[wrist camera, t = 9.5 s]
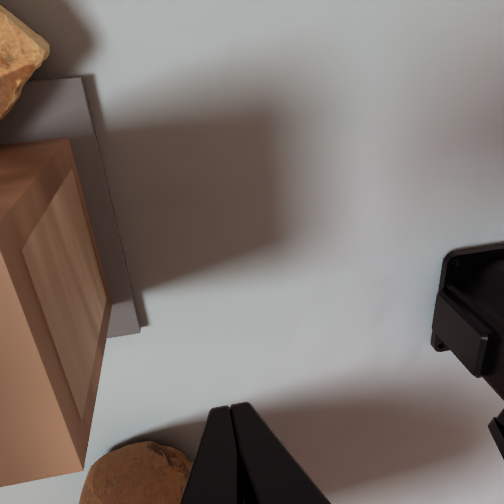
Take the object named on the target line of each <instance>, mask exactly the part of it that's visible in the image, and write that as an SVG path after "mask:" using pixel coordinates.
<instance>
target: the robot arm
mask: <svg viewBox="0 0 504 504" xmlns="http://www.w3.org/2000/svg"><path fill="white" fill-rule="evenodd" d="M454 260H455V262H454V263H453V264H452V262H453V261H454ZM439 343H440V344H439ZM431 346H432V347H433V348H434V349H435V350H436V351H438V352H442V351H448V350H451V351H452V352H453V353H454V355H455V356H456V357H457V358H458V359H459V360H460V361H461V363H462V364H463V365H464V366H465V367H466V368H467V369H468V370H469V372H470V373H471V374H472V375H474V376H475V377H476V378H480V377H483V378H484V379H485V381H486V382H487V383H488V384H489V385H490V386H491V387H492V388H493V389H494V390H495V392H496V393H497V394H498V395H499V396H500V397H501V398H502V399H503V400H504V244H502V245H495V246H489V247H482V248H476V249H469V250H463V251H457V252H451V253H449V254H447V255H446V256H445V258H444V259H443V263H442V270H441V276H440V283H439V290H438V293H437V296H436V303H435V310H434V317H433V323H432V336H431ZM488 428H489V430H490V432H491V434H492V436H493V439H494V441H495V443H496V445H497V447H498V449H499V451H500V453H501V455H502V457H503V459H504V409H503V410H502V411H501V413H500V414H499V415H498V416H497V417H494V418H493V419H492V421H491V422H490V423H489V425H488ZM243 497H244V498H243ZM244 503H245V504H331V503H330V502H329V501H328V499H327V498H326V497H325V496H324V494H323V493H322V492H321V491H320V489H319V488H318V487H317V486H316V485H315V483H314V482H313V481H312V480H311V478H310V477H309V476H308V475H307V473H306V472H305V471H304V470H303V468H302V467H301V466H300V465H299V463H298V462H297V461H296V460H295V458H294V457H293V456H292V455H291V454H290V452H289V451H288V450H287V449H286V447H285V446H284V445H283V444H282V442H281V441H280V440H279V439H278V437H277V436H276V435H275V434H274V432H273V431H272V430H271V429H270V427H269V426H268V425H267V424H266V423H265V421H264V420H263V419H262V418H261V416H260V415H259V414H258V413H257V411H256V410H255V409H254V408H253V406H252V405H251V404H250V403H249V402H242V403H237V404H232V405H231V407H229V406H221V407H216V408H212V409H211V410H210V412H209V414H208V417H207V420H206V424H205V427H204V430H203V433H202V436H201V439H200V442H199V445H198V448H197V451H196V454H195V457H194V460H193V463H192V467H191V470H190V473H189V476H188V479H187V482H186V485H185V488H184V491H183V494H182V497H181V500H180V503H179V504H244Z"/></svg>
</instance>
